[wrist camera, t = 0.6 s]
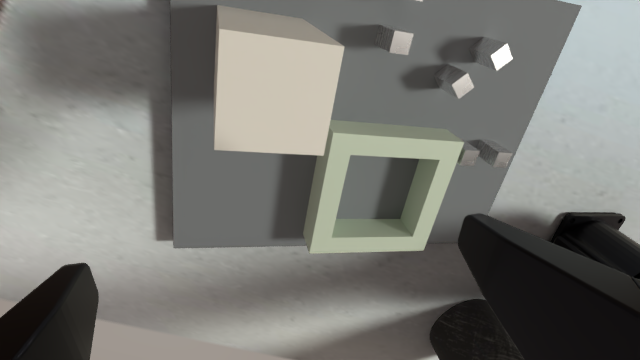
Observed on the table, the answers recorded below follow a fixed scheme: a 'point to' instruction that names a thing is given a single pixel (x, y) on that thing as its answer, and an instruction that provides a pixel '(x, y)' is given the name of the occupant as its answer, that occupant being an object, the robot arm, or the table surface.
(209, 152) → the mat
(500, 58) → the set of small cubes
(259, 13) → the beige rectangular block
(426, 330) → the table surface
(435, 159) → the end holder
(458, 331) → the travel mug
